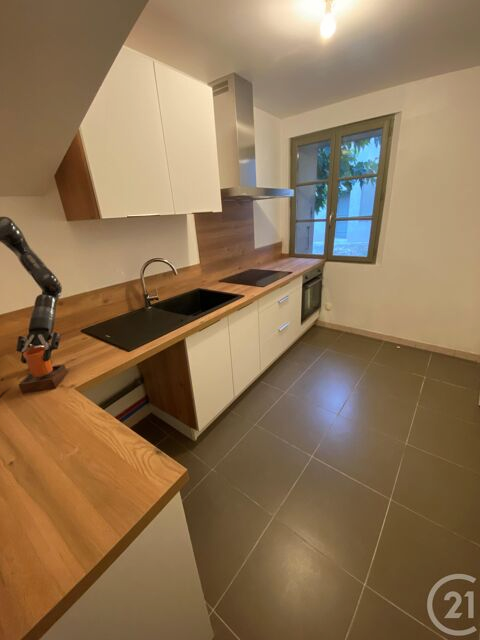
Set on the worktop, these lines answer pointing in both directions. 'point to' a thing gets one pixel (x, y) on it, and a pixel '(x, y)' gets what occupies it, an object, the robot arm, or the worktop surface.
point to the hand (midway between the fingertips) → (35, 361)
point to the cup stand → (43, 380)
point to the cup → (37, 362)
